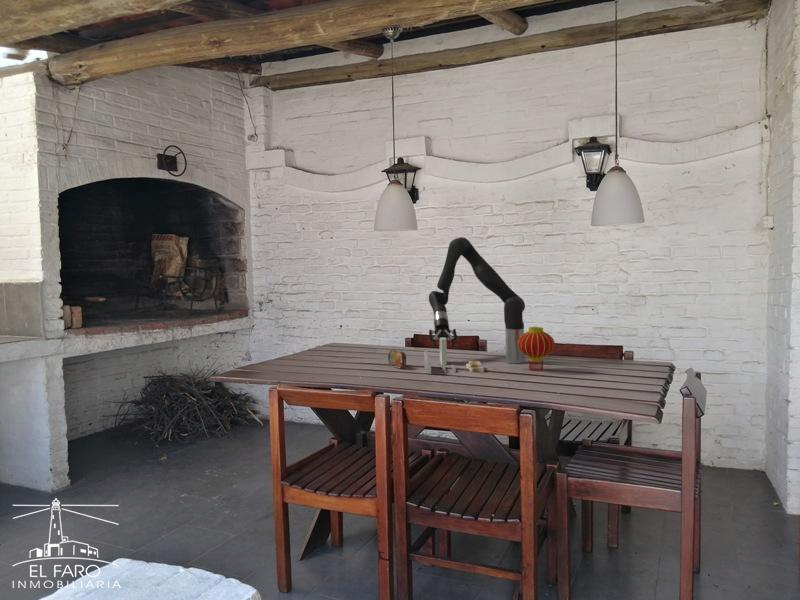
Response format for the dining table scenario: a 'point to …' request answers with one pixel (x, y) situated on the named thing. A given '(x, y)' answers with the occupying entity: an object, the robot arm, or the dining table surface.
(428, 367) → the rack
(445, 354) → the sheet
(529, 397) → the dining table surface
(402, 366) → the tin
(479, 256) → the robot arm
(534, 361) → the lantern
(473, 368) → the offcuts
